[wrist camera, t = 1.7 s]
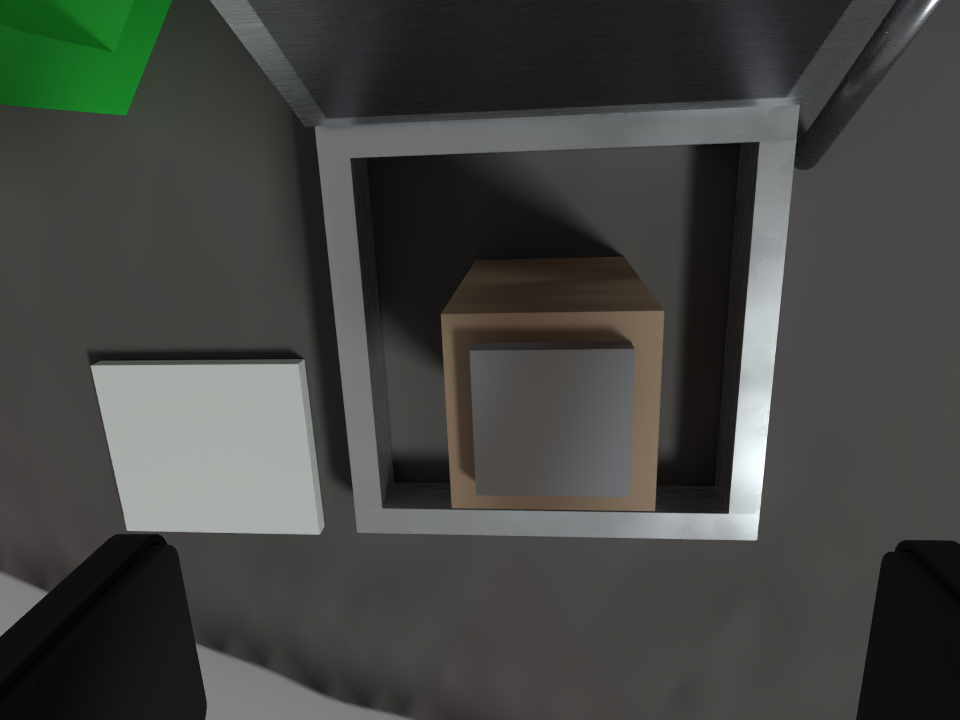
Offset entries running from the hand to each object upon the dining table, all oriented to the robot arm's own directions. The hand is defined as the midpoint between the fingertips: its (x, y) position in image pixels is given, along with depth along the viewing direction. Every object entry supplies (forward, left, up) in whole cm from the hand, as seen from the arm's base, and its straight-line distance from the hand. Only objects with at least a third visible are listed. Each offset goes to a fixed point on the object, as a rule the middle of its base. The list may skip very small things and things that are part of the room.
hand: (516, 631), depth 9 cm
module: (-1, 0, -15) cm, 15 cm away
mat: (+12, +4, -15) cm, 20 cm away
